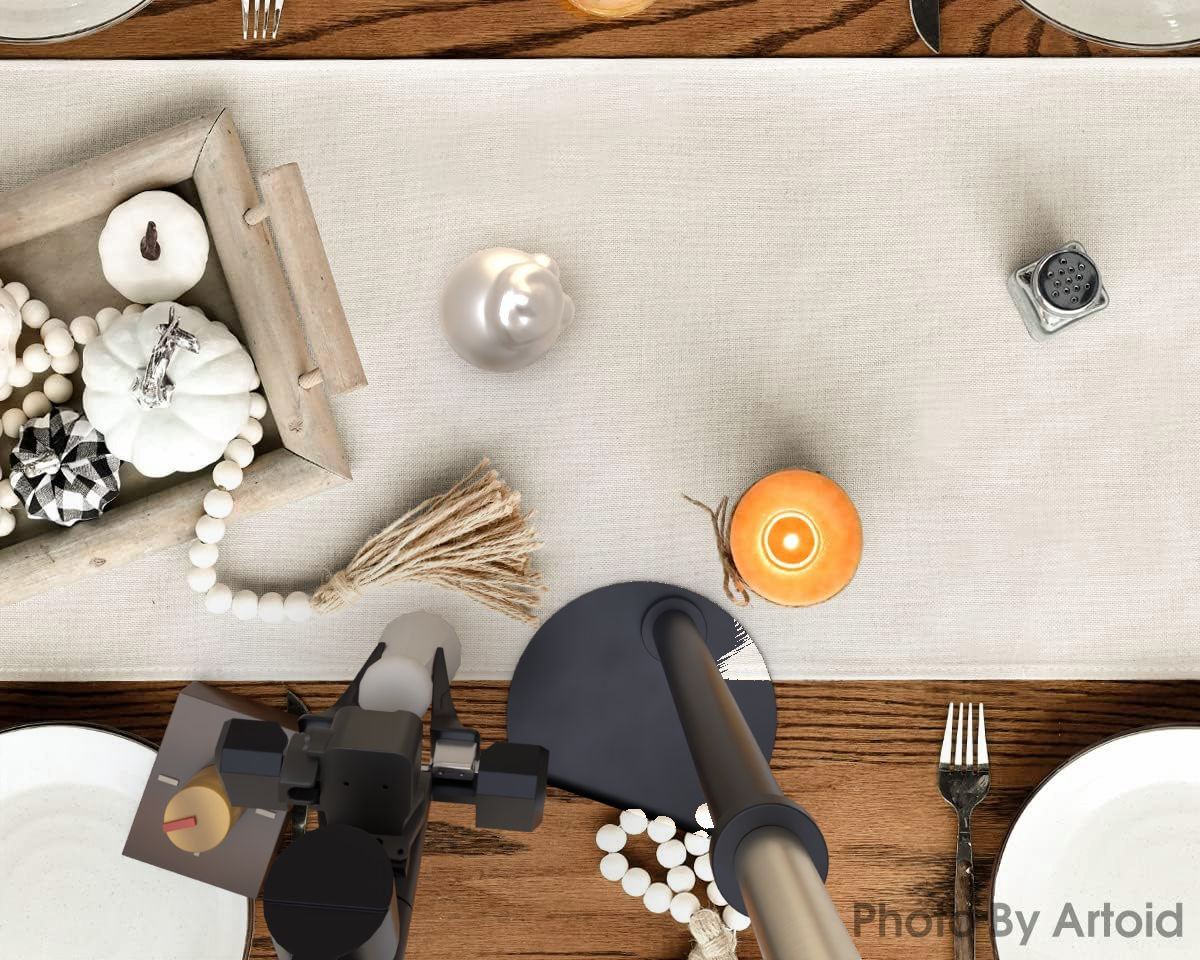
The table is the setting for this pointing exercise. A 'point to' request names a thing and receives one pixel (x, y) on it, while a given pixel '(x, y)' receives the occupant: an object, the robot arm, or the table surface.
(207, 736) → the panel
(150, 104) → the table surface
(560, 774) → the round base pole stand
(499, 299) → the ghost figurine
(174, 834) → the knob
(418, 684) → the salt shaker
